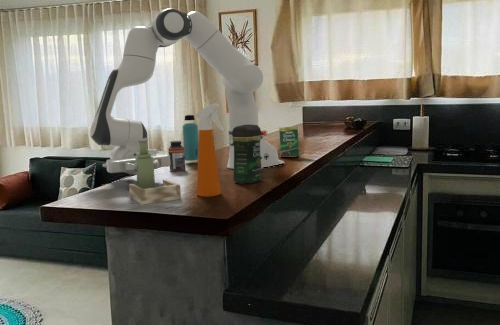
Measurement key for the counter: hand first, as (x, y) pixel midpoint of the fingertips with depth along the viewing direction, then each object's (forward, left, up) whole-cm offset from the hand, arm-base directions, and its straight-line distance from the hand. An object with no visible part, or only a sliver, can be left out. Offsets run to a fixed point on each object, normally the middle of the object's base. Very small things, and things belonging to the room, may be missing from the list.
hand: (145, 166), depth 152 cm
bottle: (0, -1, -8) cm, 8 cm away
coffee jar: (-31, +9, -8) cm, 33 cm away
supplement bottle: (-21, -28, -8) cm, 36 cm away
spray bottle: (-13, +20, -8) cm, 25 cm away
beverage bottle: (-33, -42, -8) cm, 54 cm away
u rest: (+2, +13, -8) cm, 15 cm away
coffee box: (-71, -26, -8) cm, 76 cm away
